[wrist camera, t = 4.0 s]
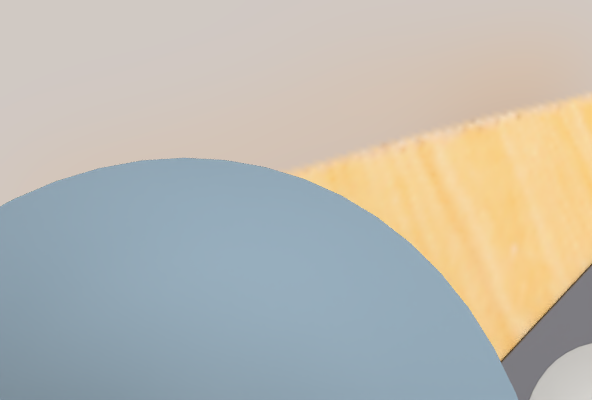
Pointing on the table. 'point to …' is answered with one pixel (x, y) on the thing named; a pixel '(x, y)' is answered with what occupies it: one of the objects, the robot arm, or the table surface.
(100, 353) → the pale blue capsule
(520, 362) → the pad
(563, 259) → the table surface
